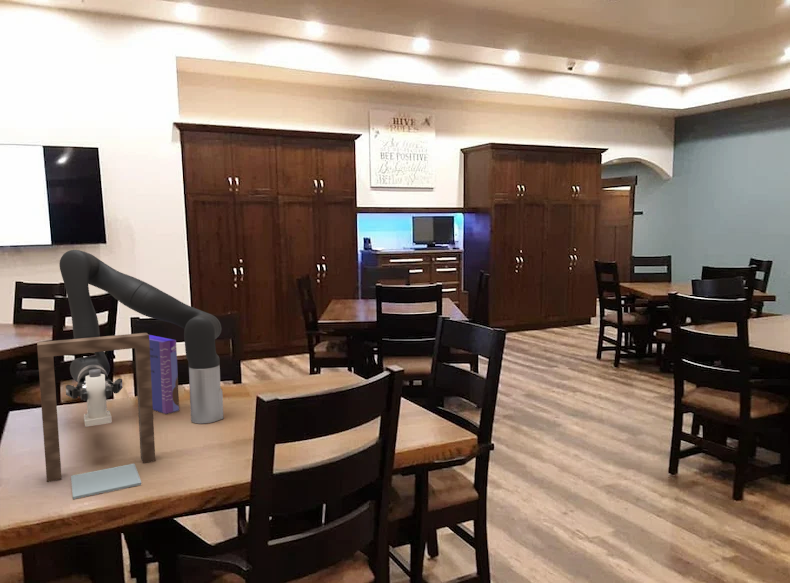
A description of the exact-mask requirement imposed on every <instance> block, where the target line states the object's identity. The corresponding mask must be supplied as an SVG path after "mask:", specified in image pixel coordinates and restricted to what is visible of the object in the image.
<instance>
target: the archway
mask: <svg viewBox="0 0 790 583" xmlns="http://www.w3.org/2000/svg"><path fill="white" fill-rule="evenodd" d="M149 335H150V334H148V332H139V333H130V334H129V333H128V334H118V335H106V336H100V337H92V338H81V339H74V338H72V339H71V338H70V339H58V340H49V341H38V342H37V345H36V346H37V360H38V362H37V363H38V375H39V389H40V390H39V392H40V403H41V404H40V405H41V406H40V407H41V419H42V432H43V445H44V448H43V449H44V458H45V461H44V462H45V463H44V464H45V472H46V473H45V474H46V483H50V482H55V481H59V480H60V481H61V480H62V465H61V464H62V463H61V450H60V449H61V448H60V435H59V422H58V419H59V418H58V406H57V393H56V376H55V362H54V361H55V360H54V357H57V356H58V357H60V356H61V357H62V356H71V355H80V354H89V353H90V354H91V353H92V354H93V353H94V352H102V351H104V352H109V351H121V350H129V349H134V352H135V353H134V354H135V355H134V356H135V357H134V358H135V373H136V377H135V378H136V391H137V393H136V395H137V409H138V410H137V411H138V413H137V414H138V432H139V433H138V435H139V450H140V451H139V452H140V461H141V462H142V464H147V463H151V461H152V462H155V461H156V448H155V446H156V445H155V424H154V410H153V402H152V382H151V362H150V342H149ZM146 462H147V463H146ZM49 481H50V482H49Z"/></svg>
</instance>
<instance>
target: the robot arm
mask: <svg viewBox="0 0 790 583" xmlns="http://www.w3.org/2000/svg"><path fill="white" fill-rule="evenodd" d="M59 259H60V260H59V265H58V266H59V271H60V274H61V278H62V281H63V284H64V288H65V293H66V296H67V299H68V304H69V309H70V315H71V324H72V325H71V326H72V332H73V339H81V338H92V337H101V332H100V326H99V318H98V315H97V312H96V310H95V308H94V305H93V304H94V303H93V302H92V299H91V295H90V290H89V289H90V288H89V285H90V286H93V287H95V288H97V289H100V290H103V291H104V292H106V293H107V294H109V295H110V296H111V297H113V298H114V299H115V300H117V301H118V302H120V304H122V305H123V306H125V307H127V308H129V309H130V310H133V311H134V312H136V313H138V314H140V315H143V316H145V317H148V318H151V319H155V320H158V321H163V322H167V323H171V324H174V325H176V326H178V327H180V328H182V329H183V330H184V332H183V337H184V338H183V339H184V348H185V349H184V350H185V358H186V359H187V361H188V377H189V378H188V380H189V381H188V382H189V383H188V384H189V403H190V405H189V406H190V407H189V408H190V409H189V410H190V422H192V423H194V424H209V423H210V424H211V423H214V422H218V421H221V420H224V400H223V389H222V388H221V369H220V368H221V367H220V362H221V361H220V357H219V356H220V355H218V354H217V350H216V349H217V348H216V340H217V338H219V336H220V335H221V333H222V323H221V322H220V320H219V319H218V318H217V317H216V316H215V315H213V314H211V313H209V312H206V311H203V310H201V309H198V308H195V307H193V306H191V305H188V304H187V303H184V302H182V301H180V300H179V299H177V298H175V297H174V296H171V295H170V294H168V293H166V292H165V291H163V290H161V289H159V288H157V287H156V286H153V285H151V284H150V283H148V282H145V281H144V280H141V279H139V278H136V277H134V276H131V275H129V274H126V273H123V272H121V271H119V270H117V269H114V268H113V267H112V266H110V265H108V264H107V263H105V262H103V261H102V260H100V259H99V258H97V257H96V256H95V255H94V254H92V253H89V252H86V251H83V250H80V249H71V250H67V251H66V252H64V253H63V254H62V256H61V257H60V258H59ZM93 353H94V355H91V356H83V357H77V358H75V359H74V360H72V361H71V363H70V366H69V372H70V375H71V377H72V379H73V381H75V382H77V384H76V385H72V384H67V385H65V395H66V396H67V397H69V398H71V399H72V400H74V399H75V400H76V399H79V398H80V400H81V401H84V402H87V390H86V378H85V377H86V376H88V375H89V370H92V369H100V370H101V374H104V375H105V389H106V399H110V397H112V396H113V394H119V393H120V391H121V390H122V389H123V379H122V378H117V379H116V380H114V381H112V380H111V379H110V378H109V376H108V375H109V373H110V371H111V365H110V363H109V360H108V358H107V355H106V353H105V351H102V352H93Z"/></svg>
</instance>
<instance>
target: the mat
mask: <svg viewBox="0 0 790 583" xmlns="http://www.w3.org/2000/svg"><path fill="white" fill-rule="evenodd" d="M70 481H71V482H70V483H71V491H72V492H71V494H72V500H77V499H76V498H78V499H82V498H81V497H83V498H86V497H85V496H88V497H91V496H90V495H92V496H96V495H95V494H97V495H100V494H99V493H102V494H105V493H104V492H106V493H109V492H110V493H111V492H115V490H116V491H120V490H125V489H130V488H134V487H138V485H139V486H142V485H141V484H142V480H141V477H140V474H139V472H138V469H137V467H136V464H135V463H129V464H124V465H119V466H115V467H109V468H104V469H99V470H93V471H90V472H83V473H78V474H73V475H72V474H71V476H70ZM129 487H130V488H129Z"/></svg>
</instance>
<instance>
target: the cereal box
mask: <svg viewBox="0 0 790 583" xmlns="http://www.w3.org/2000/svg"><path fill="white" fill-rule="evenodd" d="M149 342H150V362H151V382H152V402H153V411H155V412H157V411H158V413H161V414H163V415H168V414H172V413H173V414H174V413H177V412H179V411H180V399H179V398H180V396H179V380H178V379H179V377H178V376H179V375H178V358H177V357H178V356H177V355H178V354H177V340H176V339H172V338H167V337H163V336H158V335H157V336H156V335H152V334H149Z"/></svg>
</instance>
